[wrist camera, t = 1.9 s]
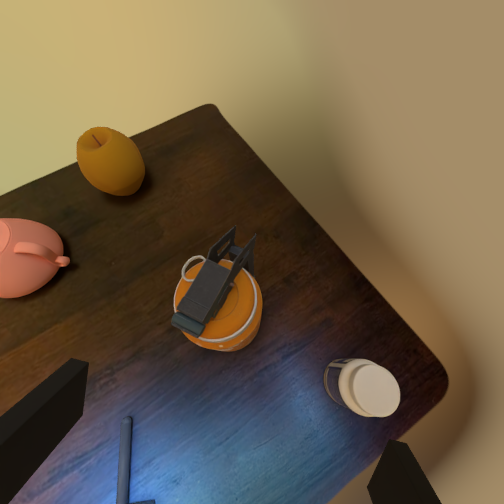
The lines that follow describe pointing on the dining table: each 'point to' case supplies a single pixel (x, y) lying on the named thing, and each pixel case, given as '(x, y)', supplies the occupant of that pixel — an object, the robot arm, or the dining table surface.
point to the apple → (110, 161)
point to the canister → (220, 298)
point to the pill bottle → (362, 387)
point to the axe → (125, 464)
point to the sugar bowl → (27, 256)
